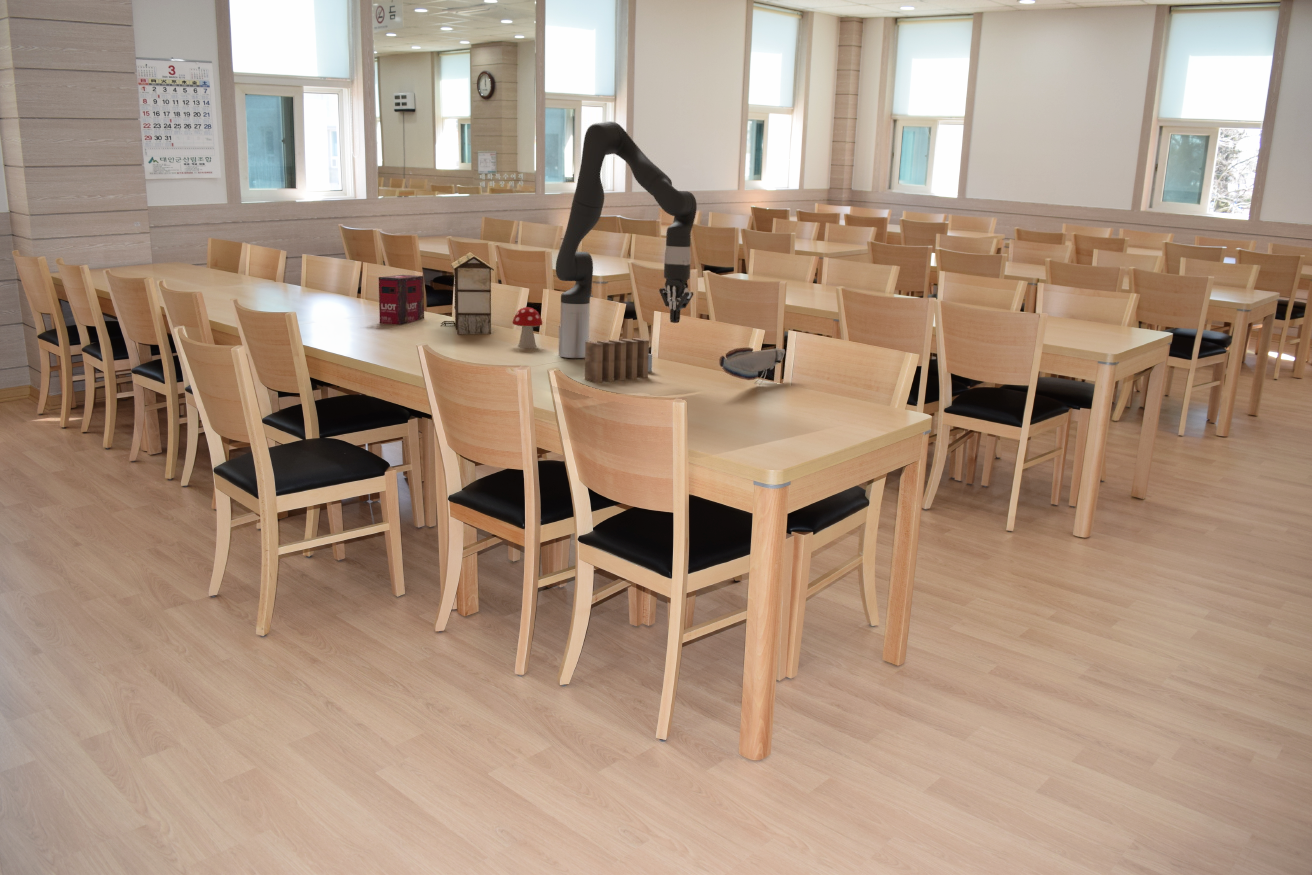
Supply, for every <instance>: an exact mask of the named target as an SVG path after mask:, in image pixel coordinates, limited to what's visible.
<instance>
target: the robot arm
mask: <svg viewBox="0 0 1312 875" xmlns="http://www.w3.org/2000/svg"><path fill="white" fill-rule="evenodd" d="M613 154H614V155H616V156H617V157H619V158H620V159H622V160H623V161H625V162H626V164H627V165H628V166H629V168H630V170H631V172H632V173H631V174H632V175H633V177H634V179H635V180H636V182H637V183H638V184H639V185H640V186H641V187H642V188H643V189H644V190H645V191H646V192H647V193H649V194H650V195H651V196H652V197H653V199H654V200H655V201H656V202H657V204H658V205H659V207H660V208H661V209H662V211H664V212H665V213H666V214H668V215H669V216H672V217H673V220H672V224H671V225H669V226H668V227H667V229H666V237H665V238H666V239H665V250H664V265H663V267H664V268H663V278H664V279H666V280H665V283H664V287H661V288H659V290H658V292H659V294H660V296H661V299H662V301H663V303H664V305H665V307H668V309H669V321H670V323H673V324H678V323H680V321H681V310H683V309H686V308H687V306H688V305H689V303H690V301H691V300H692V298H693V297H694V292H693V291H690V290H689V284H688V280H689V279H690V277H691V260H692V258H691V257H692V253H691V239H692V238H691V236H692V229H693V227H694V222H695V219H696V214H697V209H698V205H697V199H696V197H695V195H694V194H693V193H692V192H691V191H687V190H678V189H677V188H675V187H674V185H673V182H672V179H671V178H670V176H668V175H667V174H666V173H665V172H664V171H663V170H661V169H660V168H659V167H658V166H657V165H656V164H654V162H653V161H652V160H650V159H649V158H648V156H646V154H645V153H644V152H643V151H642V150H641V149H640V147H639V146H638V145H637V144H636V142H634V140H633V139H632V137H631V136H630V135H629V133H628V132H627V131H626V130H625V129H624V128H623V127H622V126H621V125H620V124H619V123H617V122H615V121H602V122H596V123H595V122H594V123H593V124H591V125H589V127H587V129H586V131H585V134H584V139H583V145H582V154H581V163H580V168H579V172H578V177H577V183H576V187H575V191H574V194H573V198H572V203H571V208H570V212H569V217H568V221H567V222H568V223H567V225H566V229H565V233H564V235H563V239H562V242H561V245H560V247H559V250H558V254H557V256H556V260H555V261H556V262H555V274H556V278H558V280H560V281H562V282H575V284H574V285H573V286H572V288H570V289H568V290H567V291H564V292H562V293H561V295H560V322H559V323H560V325H559V326H558V355H559V356H560V358H561V357H562V358H569V359H585V342H587V341H590V314H591V313H590V312H591V308H590V307H591V305H590V304H591V296H592V289H593V287H592V286H593V274H594V263H593V258H592V255H591V254H590V253H589V252H587V251H578V248H579V246H580V244H581V242H582V241H583V240H584V239H585V237H586V236H587V235H588V234H589V233H590V231H592V229H593V228H594V227H596V225H597V224H598V222H599V220H600V218H601V215H602V211H603V207H604V204H605V192H604V187H603V183H602V178H601V172H602V168H603V167H602V166H603V163H604V160H605V157H606V156H609V155H613Z"/></svg>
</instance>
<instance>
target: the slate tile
mask: <svg viewBox="0 0 1312 875" xmlns="http://www.w3.org/2000/svg"><path fill="white" fill-rule="evenodd" d="M652 367H653V354H651V353H649V358H648V373H650V372H652V370H653V369H652Z"/></svg>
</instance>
